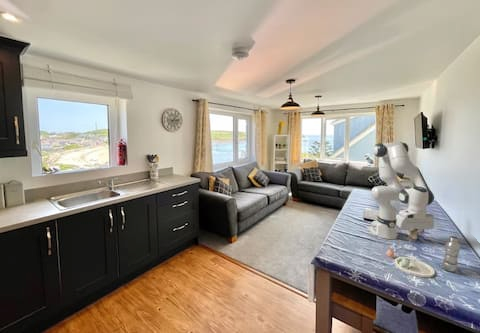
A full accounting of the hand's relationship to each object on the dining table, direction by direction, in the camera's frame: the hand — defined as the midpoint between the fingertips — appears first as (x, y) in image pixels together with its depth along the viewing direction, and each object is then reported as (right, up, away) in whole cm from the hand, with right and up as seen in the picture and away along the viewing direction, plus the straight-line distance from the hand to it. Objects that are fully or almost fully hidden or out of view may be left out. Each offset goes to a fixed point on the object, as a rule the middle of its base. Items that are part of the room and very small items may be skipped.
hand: (413, 234), depth 137 cm
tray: (-6, -18, -8) cm, 20 cm away
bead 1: (-12, -16, +4) cm, 20 cm away
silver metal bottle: (+14, -18, -8) cm, 24 cm away
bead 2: (-11, -17, -8) cm, 21 cm away
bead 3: (0, -2, +1) cm, 2 cm away
